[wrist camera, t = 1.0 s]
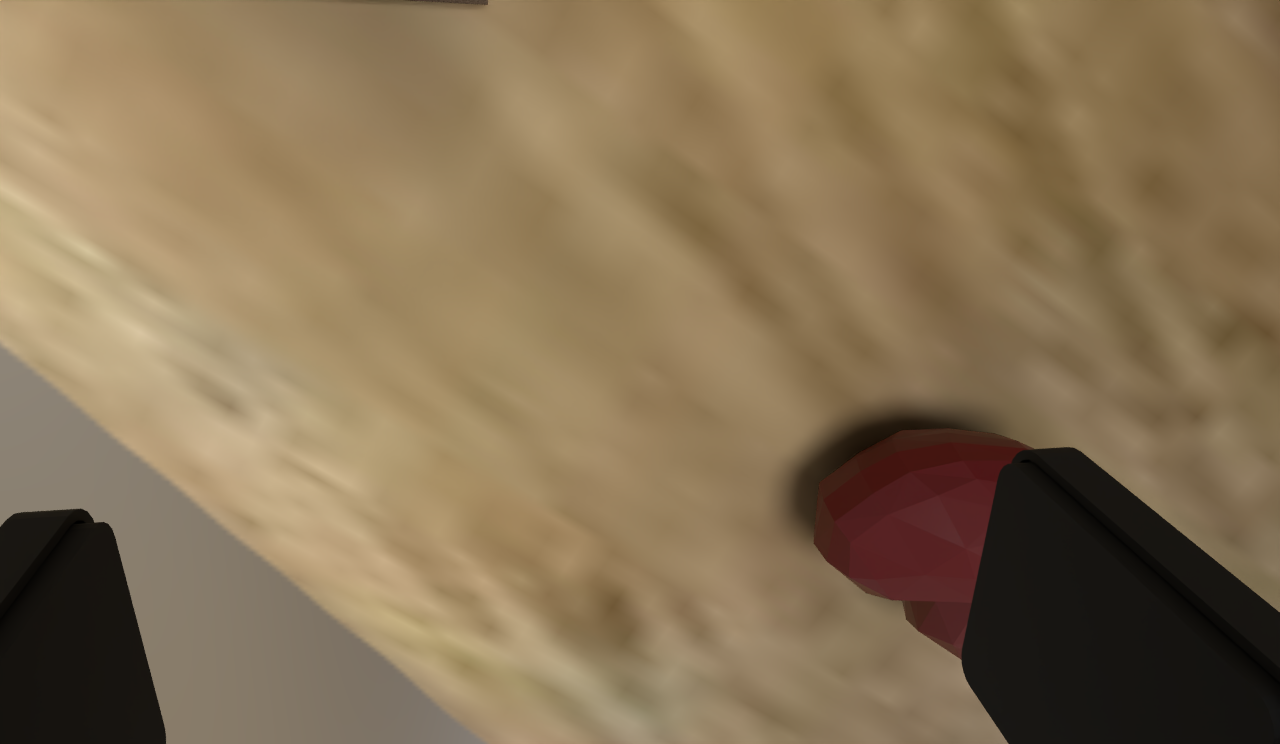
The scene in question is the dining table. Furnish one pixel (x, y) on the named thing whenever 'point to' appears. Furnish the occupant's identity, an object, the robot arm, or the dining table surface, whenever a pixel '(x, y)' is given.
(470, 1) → the grey divided tray
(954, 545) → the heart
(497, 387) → the dining table surface
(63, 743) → the robot arm
